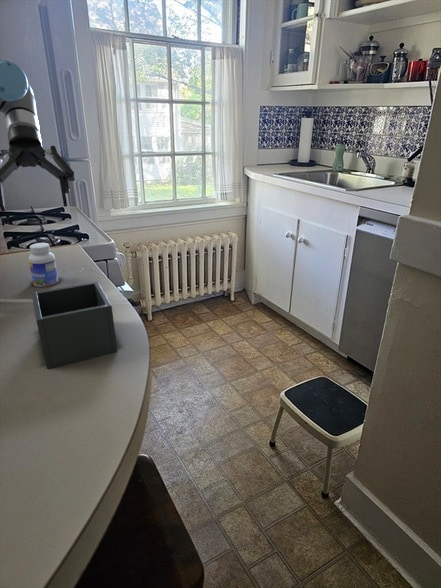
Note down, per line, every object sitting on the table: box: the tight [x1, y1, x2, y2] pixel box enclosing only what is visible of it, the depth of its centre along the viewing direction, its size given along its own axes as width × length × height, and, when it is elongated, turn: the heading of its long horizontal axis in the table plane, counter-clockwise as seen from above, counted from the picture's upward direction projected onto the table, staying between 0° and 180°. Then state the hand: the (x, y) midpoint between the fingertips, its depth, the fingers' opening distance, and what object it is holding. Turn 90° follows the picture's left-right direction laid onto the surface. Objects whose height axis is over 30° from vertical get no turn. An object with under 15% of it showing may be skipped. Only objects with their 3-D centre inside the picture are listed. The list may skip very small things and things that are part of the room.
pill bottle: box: [28, 242, 59, 288], centre depth 88 cm, size 5×5×10 cm
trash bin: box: [31, 281, 118, 370], centre depth 66 cm, size 11×11×9 cm
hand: (34, 205), depth 92 cm, fingers open, 13 cm apart
